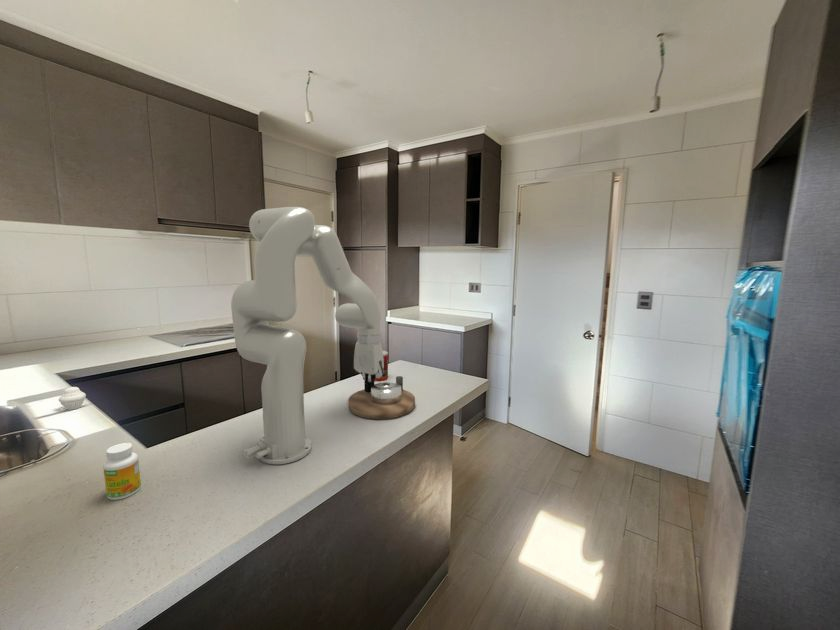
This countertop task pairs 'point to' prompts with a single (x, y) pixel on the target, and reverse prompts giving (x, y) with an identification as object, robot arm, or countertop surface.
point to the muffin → (72, 398)
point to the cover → (386, 393)
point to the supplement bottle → (121, 471)
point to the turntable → (366, 408)
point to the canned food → (385, 369)
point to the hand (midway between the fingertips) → (369, 391)
